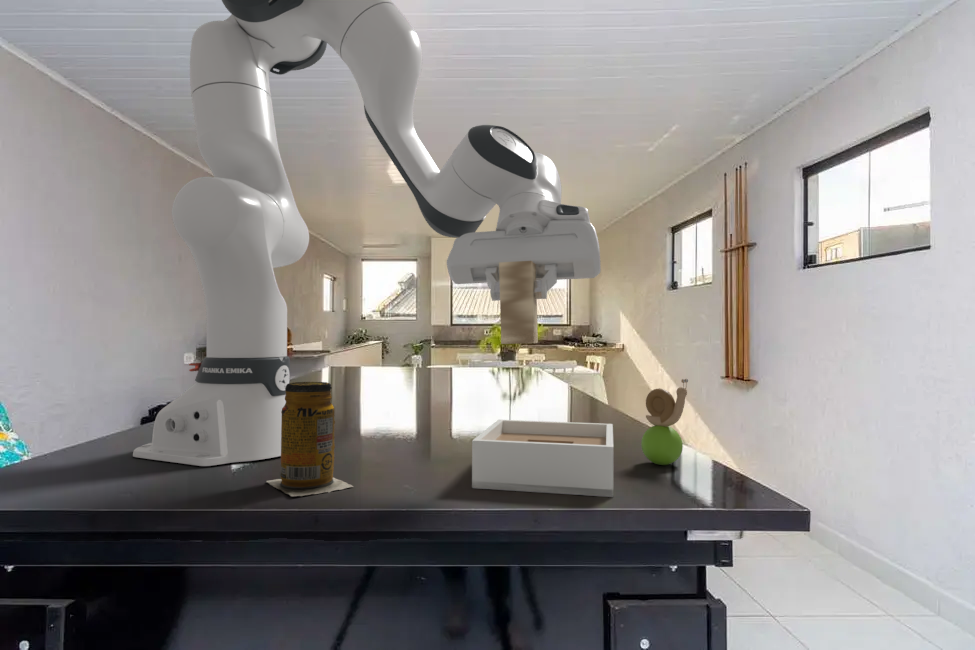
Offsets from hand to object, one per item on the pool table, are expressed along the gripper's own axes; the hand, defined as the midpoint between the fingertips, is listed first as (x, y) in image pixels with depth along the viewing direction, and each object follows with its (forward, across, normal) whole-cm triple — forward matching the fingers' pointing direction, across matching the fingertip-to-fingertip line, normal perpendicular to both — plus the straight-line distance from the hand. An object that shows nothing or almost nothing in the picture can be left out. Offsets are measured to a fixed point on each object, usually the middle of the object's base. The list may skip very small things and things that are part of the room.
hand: (518, 296), depth 71 cm
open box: (+14, +3, +18) cm, 23 cm away
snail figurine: (+8, +18, +25) cm, 32 cm away
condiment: (+22, -24, +10) cm, 34 cm away
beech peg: (+4, 0, +5) cm, 6 cm away
